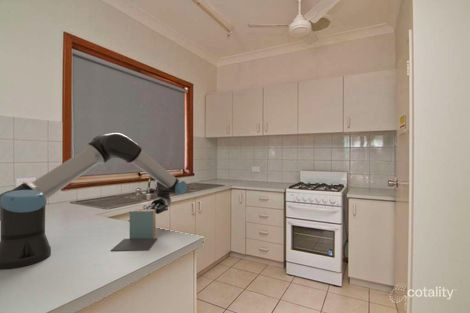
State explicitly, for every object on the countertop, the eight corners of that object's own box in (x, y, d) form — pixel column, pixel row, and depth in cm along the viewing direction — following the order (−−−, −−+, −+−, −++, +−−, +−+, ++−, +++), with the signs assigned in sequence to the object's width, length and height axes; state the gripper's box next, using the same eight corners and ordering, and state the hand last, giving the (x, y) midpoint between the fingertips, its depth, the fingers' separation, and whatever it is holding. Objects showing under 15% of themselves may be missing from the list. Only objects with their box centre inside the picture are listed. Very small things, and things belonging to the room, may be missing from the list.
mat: (148, 250, 91) (148, 249, 91) (110, 251, 91) (110, 250, 91) (157, 238, 104) (157, 238, 104) (124, 239, 103) (124, 238, 103)
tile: (152, 238, 105) (153, 211, 105) (129, 239, 104) (129, 211, 104) (155, 235, 109) (155, 209, 109) (132, 236, 108) (133, 209, 108)
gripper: (170, 211, 135) (160, 222, 111) (147, 211, 134) (132, 223, 110) (171, 198, 135) (161, 206, 111) (147, 198, 134) (132, 206, 110)
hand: (146, 214), depth 111 cm, fingers closed
